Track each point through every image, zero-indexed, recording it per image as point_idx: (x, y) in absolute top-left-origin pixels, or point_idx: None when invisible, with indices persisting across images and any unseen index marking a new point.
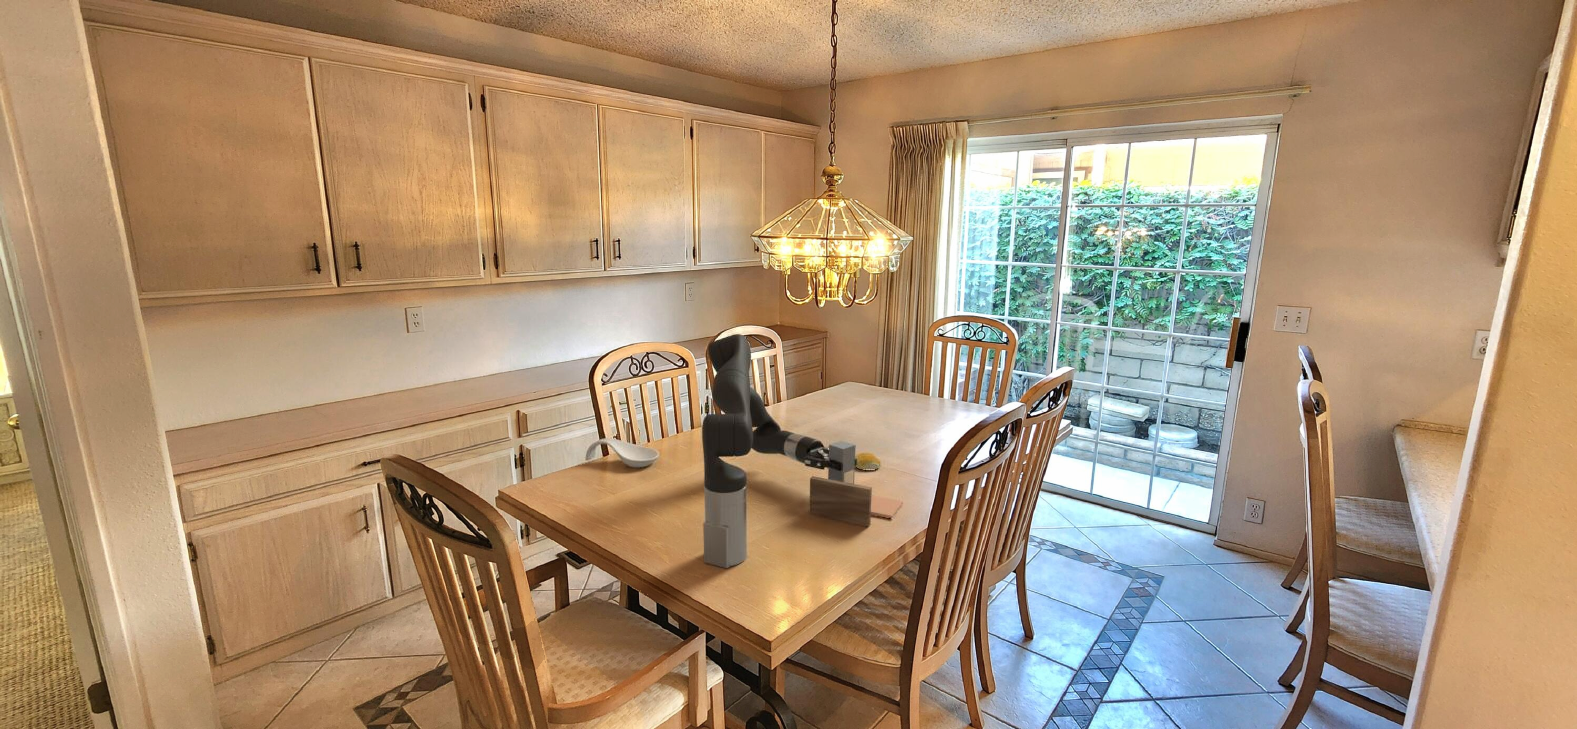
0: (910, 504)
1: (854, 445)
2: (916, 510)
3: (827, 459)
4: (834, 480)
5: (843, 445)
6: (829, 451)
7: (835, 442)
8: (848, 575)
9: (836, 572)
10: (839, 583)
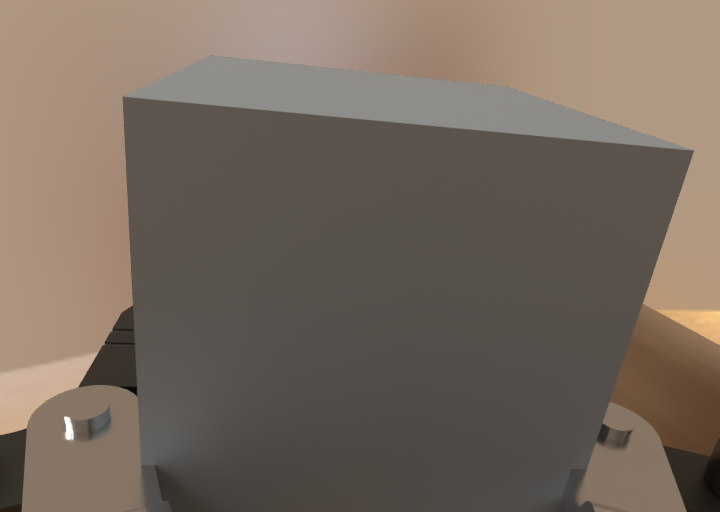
0: (17, 400)
1: (237, 60)
2: (89, 360)
3: (646, 434)
4: (645, 328)
5: (392, 86)
6: (620, 319)
7: (419, 123)
8: (675, 316)
9: (711, 335)
10: (715, 314)
